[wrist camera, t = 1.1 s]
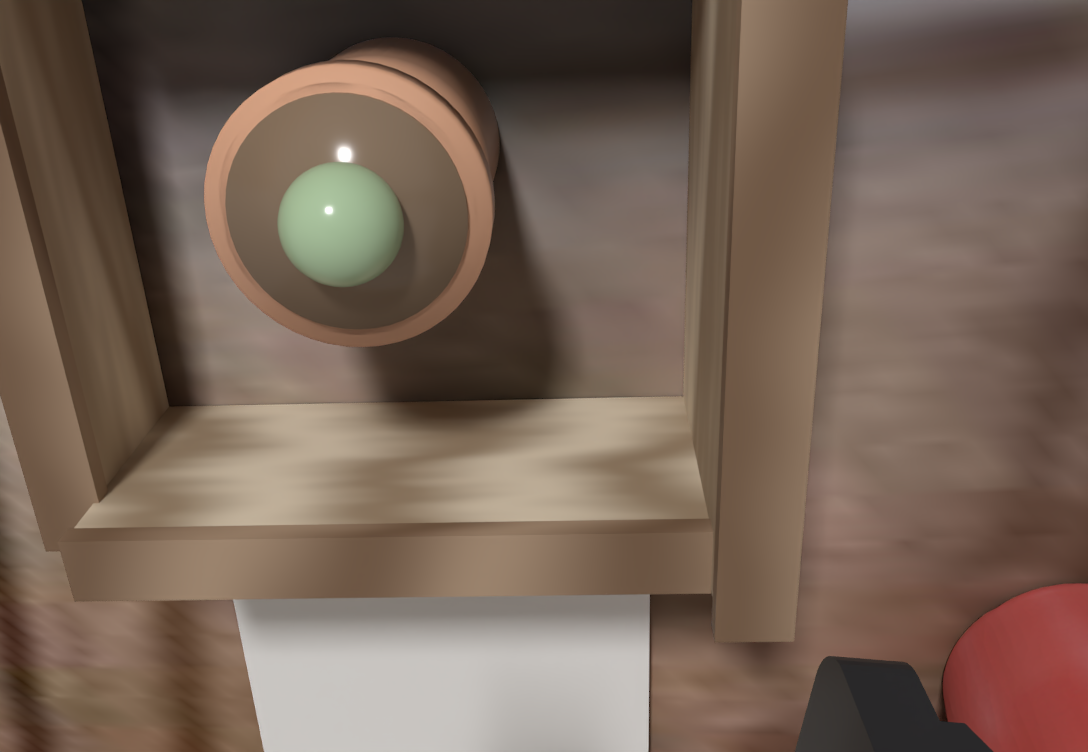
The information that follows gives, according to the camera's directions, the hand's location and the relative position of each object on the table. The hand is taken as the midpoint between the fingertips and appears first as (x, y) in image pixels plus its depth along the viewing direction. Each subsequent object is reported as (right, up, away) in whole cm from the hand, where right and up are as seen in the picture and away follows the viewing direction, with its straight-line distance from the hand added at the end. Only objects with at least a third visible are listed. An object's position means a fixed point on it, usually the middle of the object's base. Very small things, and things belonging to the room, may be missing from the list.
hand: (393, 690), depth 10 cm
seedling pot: (-3, +9, +19) cm, 21 cm away
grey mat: (-2, -8, +27) cm, 28 cm away
